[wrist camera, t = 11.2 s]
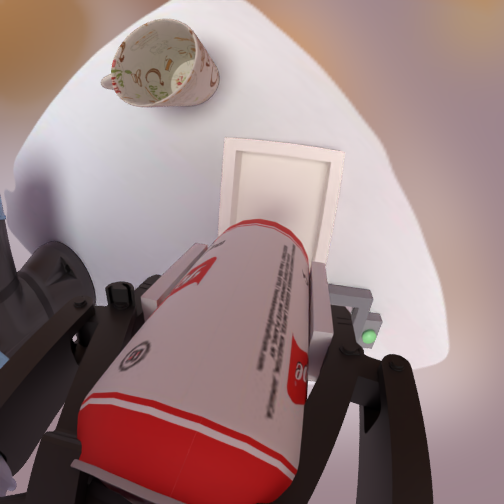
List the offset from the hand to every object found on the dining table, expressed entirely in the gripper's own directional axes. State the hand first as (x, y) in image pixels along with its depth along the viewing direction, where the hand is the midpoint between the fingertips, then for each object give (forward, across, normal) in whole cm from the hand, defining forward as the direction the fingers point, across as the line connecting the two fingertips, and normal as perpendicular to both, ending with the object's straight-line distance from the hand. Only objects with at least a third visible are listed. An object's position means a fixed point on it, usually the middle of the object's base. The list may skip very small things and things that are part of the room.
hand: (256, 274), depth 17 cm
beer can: (+2, 0, 0) cm, 2 cm away
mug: (+16, -13, +14) cm, 25 cm away
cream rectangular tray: (+15, 0, 0) cm, 15 cm away
